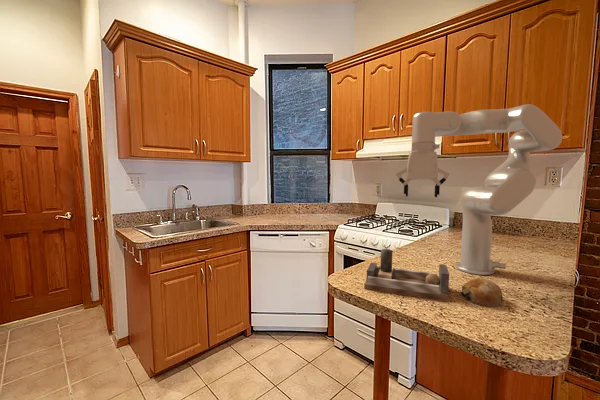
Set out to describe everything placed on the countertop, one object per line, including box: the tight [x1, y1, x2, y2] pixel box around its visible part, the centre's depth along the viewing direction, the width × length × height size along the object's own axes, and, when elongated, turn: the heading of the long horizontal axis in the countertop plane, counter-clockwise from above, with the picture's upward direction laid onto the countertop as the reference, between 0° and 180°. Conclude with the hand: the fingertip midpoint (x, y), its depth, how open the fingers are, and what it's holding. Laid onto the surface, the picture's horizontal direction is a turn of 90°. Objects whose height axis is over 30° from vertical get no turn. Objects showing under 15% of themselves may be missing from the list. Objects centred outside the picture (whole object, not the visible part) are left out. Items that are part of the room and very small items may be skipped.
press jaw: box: [378, 248, 395, 279], centre depth 93 cm, size 5×9×10 cm, turn 158°
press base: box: [363, 262, 450, 302], centre depth 91 cm, size 24×12×8 cm, turn 68°
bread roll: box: [460, 277, 504, 308], centre depth 82 cm, size 10×10×8 cm
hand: (421, 196), depth 102 cm, fingers open, 9 cm apart
